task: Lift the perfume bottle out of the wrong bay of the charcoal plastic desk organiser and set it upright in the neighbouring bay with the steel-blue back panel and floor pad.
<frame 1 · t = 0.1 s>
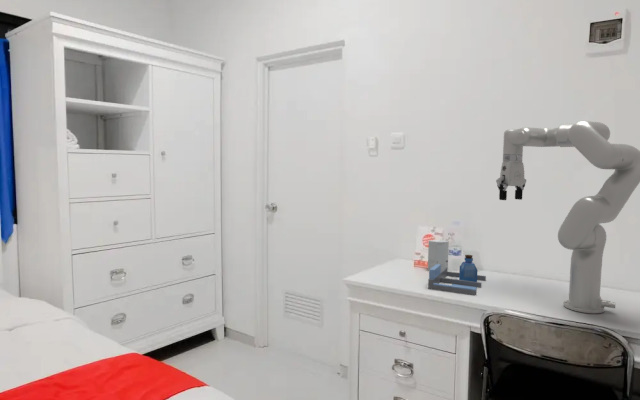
hand: (510, 199, 182), 37 cm above the table, tool pointing down, fingers open, 9 cm apart
skincare box: (437, 270, 212), on the table
perfume bottle: (467, 282, 190), resting in organiser
organiser: (465, 285, 185), on the table
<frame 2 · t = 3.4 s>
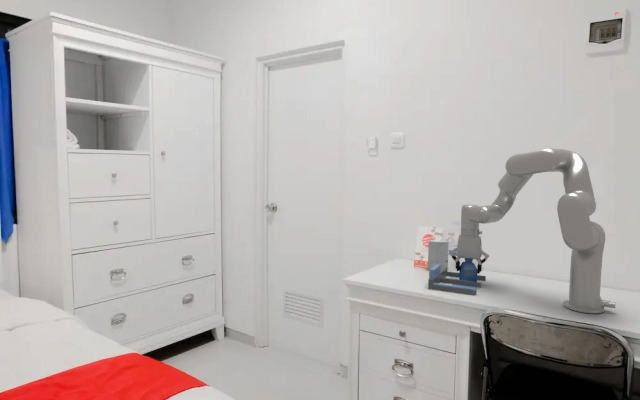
hand: (468, 271, 190), 5 cm above the table, tool pointing down, fingers closed on perfume bottle, 8 cm apart
perfume bottle: (467, 282, 190), resting in organiser, touching gripper
everything else where it was.
when the fingers open (6 cm above the table, at t = 10.6 s): perfume bottle stays where it is, resting on organiser.
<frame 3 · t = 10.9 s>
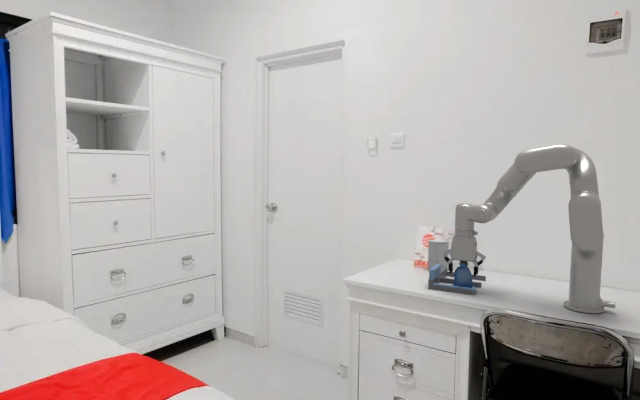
hand: (462, 274, 178), 6 cm above the table, tool pointing down, fingers open, 9 cm apart
perfume bottle: (462, 288, 179), resting on organiser
everything else where it was.
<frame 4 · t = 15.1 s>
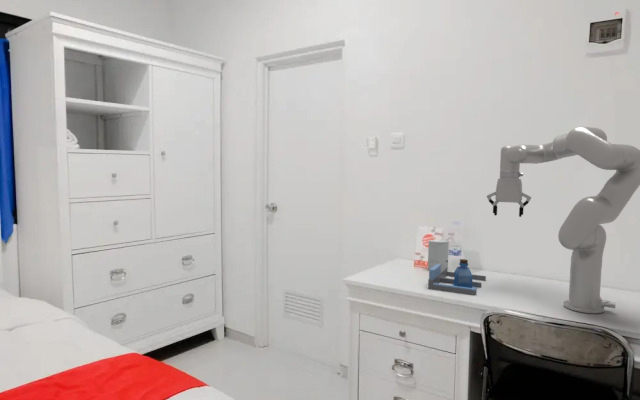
hand: (507, 215, 182), 30 cm above the table, tool pointing down, fingers open, 9 cm apart
nothing on the table moved.
at the end: perfume bottle 0.2 cm from the target spot on the organiser, point 0.1 cm above the organiser's base; perfume bottle tilted 0°; the gripper is holding nothing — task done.
